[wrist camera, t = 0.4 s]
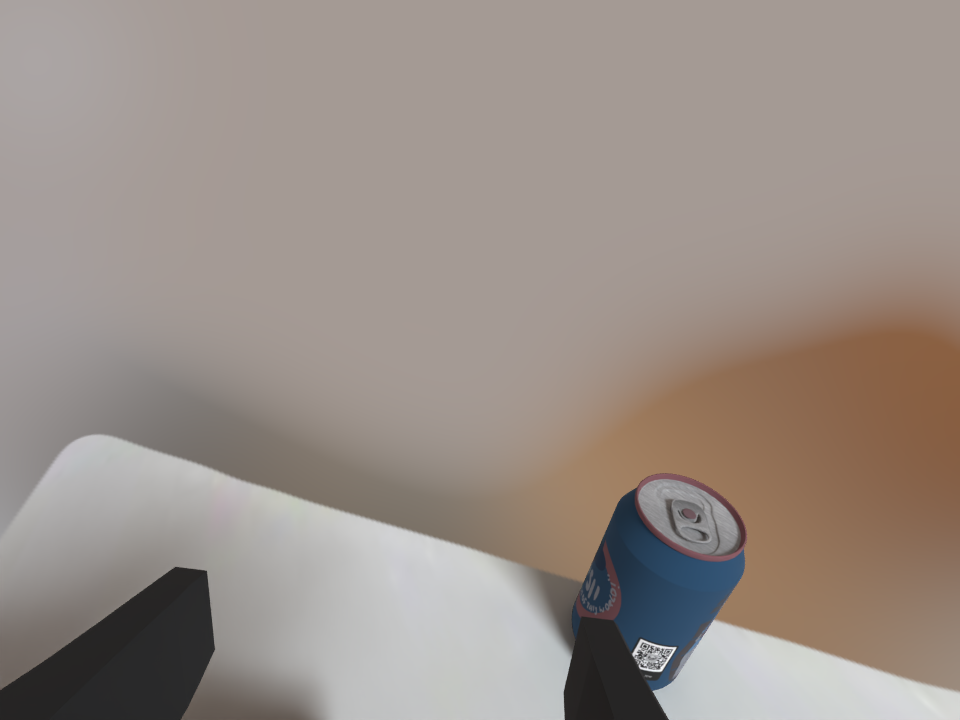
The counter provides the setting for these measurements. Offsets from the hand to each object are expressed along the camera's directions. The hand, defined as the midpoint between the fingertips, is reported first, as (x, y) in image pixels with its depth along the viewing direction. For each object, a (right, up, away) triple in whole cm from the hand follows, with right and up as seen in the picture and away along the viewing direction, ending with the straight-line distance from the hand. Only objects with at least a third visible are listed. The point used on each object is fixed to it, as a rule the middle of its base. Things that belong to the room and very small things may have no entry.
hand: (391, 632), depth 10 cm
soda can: (+11, -13, +23) cm, 29 cm away
